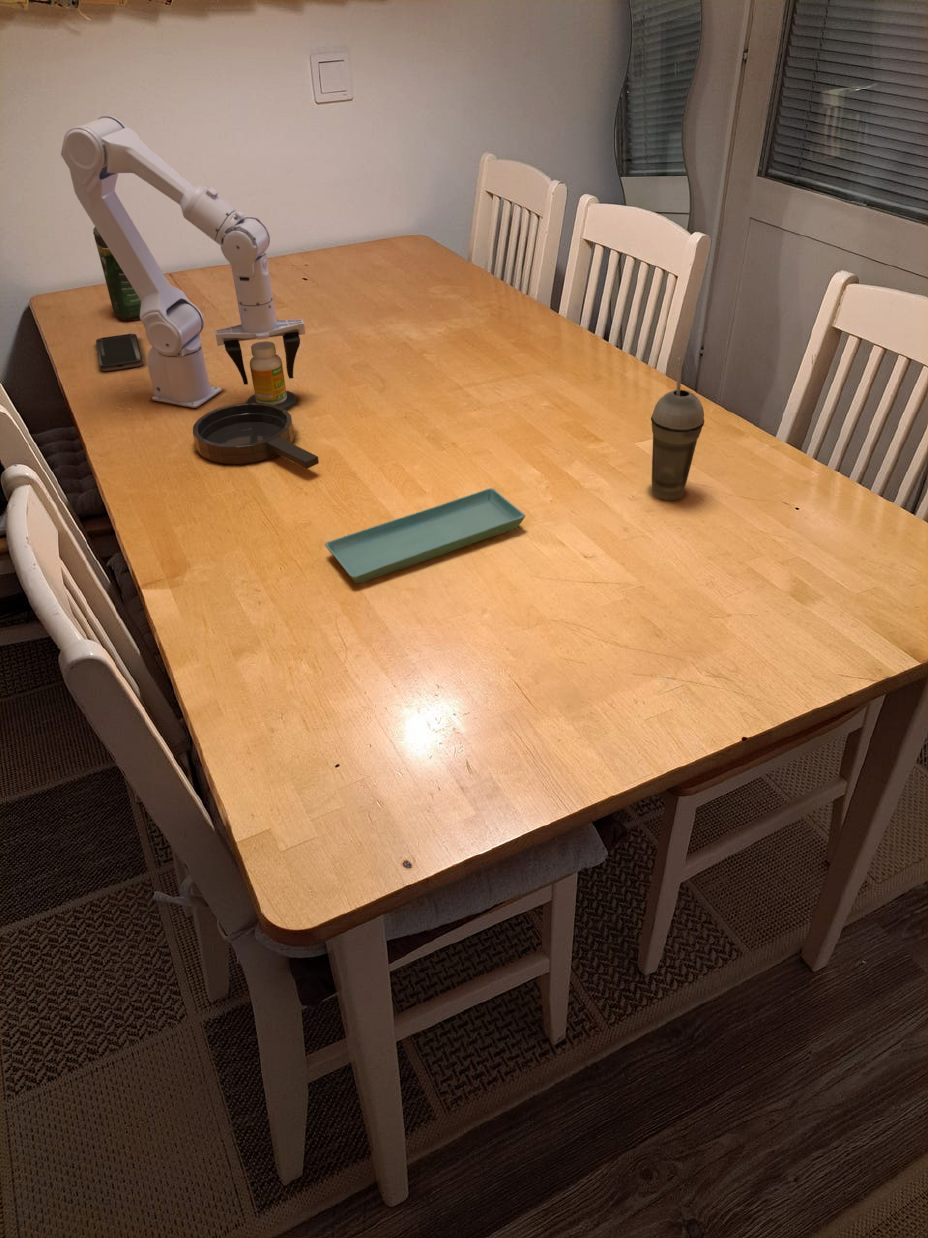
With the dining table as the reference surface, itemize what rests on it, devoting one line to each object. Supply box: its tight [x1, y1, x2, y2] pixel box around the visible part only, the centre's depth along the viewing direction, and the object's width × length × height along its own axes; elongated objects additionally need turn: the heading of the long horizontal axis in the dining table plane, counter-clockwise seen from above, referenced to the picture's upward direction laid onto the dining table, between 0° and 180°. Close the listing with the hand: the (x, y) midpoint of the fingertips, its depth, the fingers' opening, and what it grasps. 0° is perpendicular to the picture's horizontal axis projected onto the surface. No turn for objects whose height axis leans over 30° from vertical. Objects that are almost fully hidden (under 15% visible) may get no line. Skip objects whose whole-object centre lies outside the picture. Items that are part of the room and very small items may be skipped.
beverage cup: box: [650, 356, 705, 501], centre depth 126 cm, size 7×7×20 cm
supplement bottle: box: [249, 340, 287, 405], centre depth 155 cm, size 5×5×10 cm
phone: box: [95, 333, 144, 373], centre depth 176 cm, size 8×1×15 cm
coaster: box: [246, 390, 297, 411], centre depth 158 cm, size 8×8×1 cm
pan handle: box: [266, 437, 320, 470], centre depth 139 cm, size 10×2×1 cm, turn 47°
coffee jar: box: [92, 226, 141, 321], centre depth 188 cm, size 10×8×19 cm
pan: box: [192, 402, 295, 465], centre depth 146 cm, size 16×16×3 cm
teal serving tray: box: [324, 487, 526, 585], centre depth 122 cm, size 26×9×2 cm, turn 120°
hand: (268, 379), depth 156 cm, fingers open, 7 cm apart
